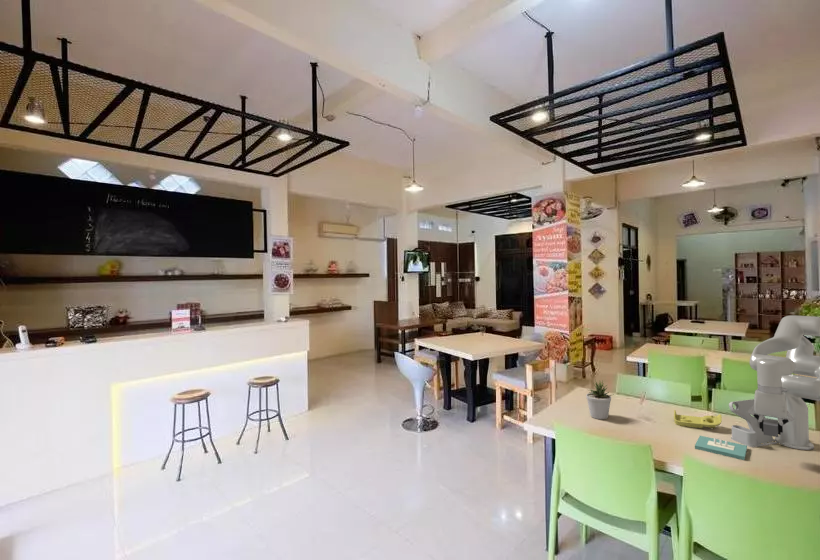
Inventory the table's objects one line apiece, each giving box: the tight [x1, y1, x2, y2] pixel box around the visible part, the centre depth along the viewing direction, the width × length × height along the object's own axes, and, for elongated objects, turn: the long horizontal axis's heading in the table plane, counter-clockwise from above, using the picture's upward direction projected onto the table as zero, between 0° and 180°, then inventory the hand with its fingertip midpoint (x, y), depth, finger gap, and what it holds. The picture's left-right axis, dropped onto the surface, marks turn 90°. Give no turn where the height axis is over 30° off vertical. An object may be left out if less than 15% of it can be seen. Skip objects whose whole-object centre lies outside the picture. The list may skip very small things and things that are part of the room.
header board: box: [694, 435, 748, 461], centre depth 174 cm, size 14×17×4 cm
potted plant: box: [585, 379, 614, 420], centre depth 216 cm, size 13×14×20 cm
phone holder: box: [728, 398, 779, 448], centre depth 181 cm, size 17×10×18 cm, turn 102°
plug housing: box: [763, 417, 779, 438], centre depth 162 cm, size 4×8×4 cm, turn 136°
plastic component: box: [673, 409, 723, 430], centre depth 200 cm, size 20×7×10 cm
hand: (771, 431), depth 162 cm, fingers closed on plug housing, 4 cm apart
